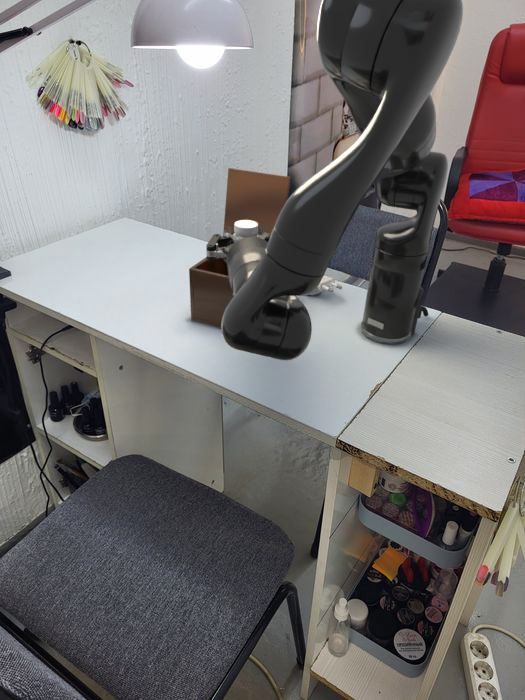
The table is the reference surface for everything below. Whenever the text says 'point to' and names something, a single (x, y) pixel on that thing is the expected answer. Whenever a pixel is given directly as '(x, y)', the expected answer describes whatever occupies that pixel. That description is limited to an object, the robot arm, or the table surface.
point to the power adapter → (326, 285)
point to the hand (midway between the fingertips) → (244, 232)
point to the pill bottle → (246, 228)
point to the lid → (255, 198)
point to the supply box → (209, 291)
